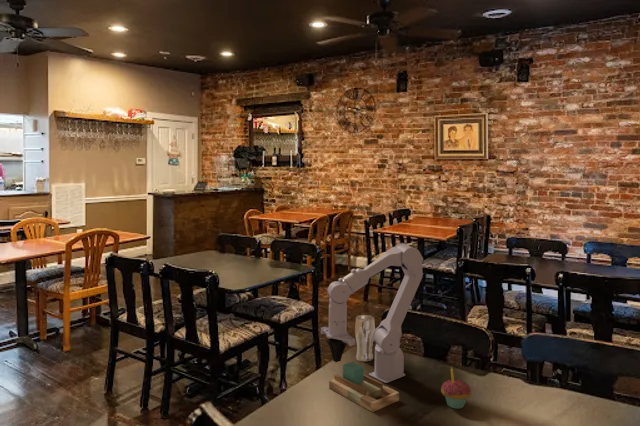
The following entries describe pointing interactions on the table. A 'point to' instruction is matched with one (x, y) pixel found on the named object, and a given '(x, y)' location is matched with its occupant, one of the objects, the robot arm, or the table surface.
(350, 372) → the teal block
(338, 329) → the robot arm
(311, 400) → the table surface
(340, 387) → the channel board
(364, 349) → the beer glass
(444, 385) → the cupcake
